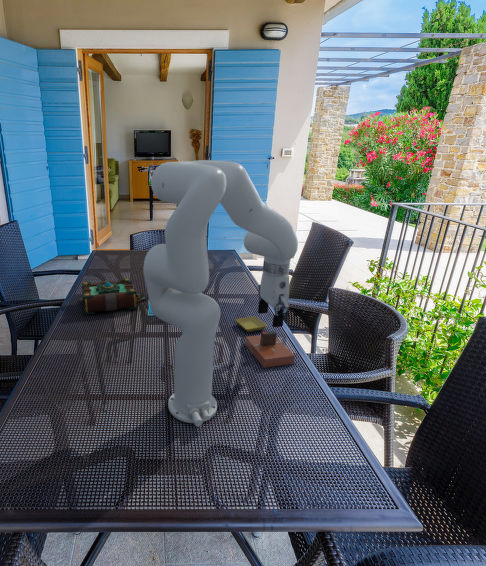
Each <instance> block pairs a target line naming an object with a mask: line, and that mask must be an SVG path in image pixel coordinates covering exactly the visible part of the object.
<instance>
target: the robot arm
mask: <svg viewBox="0 0 486 566" xmlns="http://www.w3.org/2000/svg"><path fill="white" fill-rule="evenodd" d="M150 187H151V190H152V192H153V194H154V196H155V197H156V198H157V199H158V200H160V201H161V202H164V203H168V204H174V205H177V206H176V208H174V210H173V212H172V214H171V215H170V216H169V218H168V220H167V222H166V225H165V227H164V243H158V244H155V245H154V246H152V247H151V248H150V249H149V250H148V251H147V252H146V254H145V257H144V261H143V269H142V272H143V277H144V283H145V287H146V288H145V289H146V292H147V297H148V302H149V305H150V308H151V311H152V313H153V315H154V316H155V317H157V319H159V320H160V321H163V322H165V323H167V324H169V325H171V326H174V327H175V328H177V329H179V330H180V331H181V335H180V337H179V338H177V340H176V342H175V345H174V370H173V371H174V374H173V375H174V376H173V377H174V381H173V382H174V383H173V393H172V394H171V395H170V397H169V398H168V402H167V408H168V411H169V413H170V414H171V416H172V417H174V418H175V419H176V420H179V421H181V422H183V423H188V424H194V426H195V427H197V428H198V427H201V426H203V425H204V424H203V423H205V422H208V421H209V420H211V419H212V418H213V417H214V416H215V415H216V414H217V411H218V402H217V399H216V398H215V396H214V395H213V377H214V376H213V374H214V358H215V357H214V355H215V343H216V335H217V330H218V327H219V323H220V319H221V308H220V305H219V303H218V302H217V301H216V300H215V299H214V298H212V297H210V296H209V295H207V294H204V293H203V292H204V291H206V289H207V288H208V285H209V282H210V265H209V256H208V249H207V248H208V246H207V234H206V233H207V227H208V224H209V222H210V220H211V217H212V215H213V214H214V212H215V211H216V209H217V207H218V206H219V205H221V206H222V208H223V209H224V210H225V212H226V214H227V215H228V217H229V218H230V219H231V221H232V223H233V224H235V226H238V227H239V228H240V229H243V230H244V231H246V233H245V236H244V238H243V247H244V249H245V250H246V251H247V252H249V254H253V255H256V256H260V257H263V263H262V264H263V265H262V275H261V279H260V284H258V286H257V287H258V289H257V290H258V292H257V294H258V299H257V300H258V306H257V313H258V314H260V315H262V314H268V312H269V306H270V307H272V308H273V312H274V314H273V315H272V316H273V317H272V324H271V327H272V328H281V327H283V326H284V319H285V316H286V314H287V313H288V310H289V308H290V305H289V299H290V298H289V297H290V275H289V273H290V267H291V260H292V259H293V258H294V257H295V256H296V254H297V252H298V248H299V242H298V241H299V240H298V236H297V233H296V231H295V229H294V227H293V225H292V223H291V222H290V220H288V218H286V217H285V216H284V215H282V214H281V213H280V212H278V211H277V210H275V209H274V208H273V207H271V206H270V205H268V204H267V203H265V202H264V201H263V200H262V198H261V195H260V194H259V192H258V191H257V189H256V187H255V185H254V183H253V181H252V179H251V177H250V175H249V174H248V172H247V170H246V168H245V167H244V166H243V165H242V164H240V163H238V162H235V161H229V160H213V159H211V160H210V159H203V160H202V159H201V160H200V159H199V160H187V161H183V160H181V161H166V162H163V163H161V164H159V165H158V166H157V167H156V168H155V170H154V171H153V173H152V175H151V179H150ZM278 308H280V309H278Z"/></svg>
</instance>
